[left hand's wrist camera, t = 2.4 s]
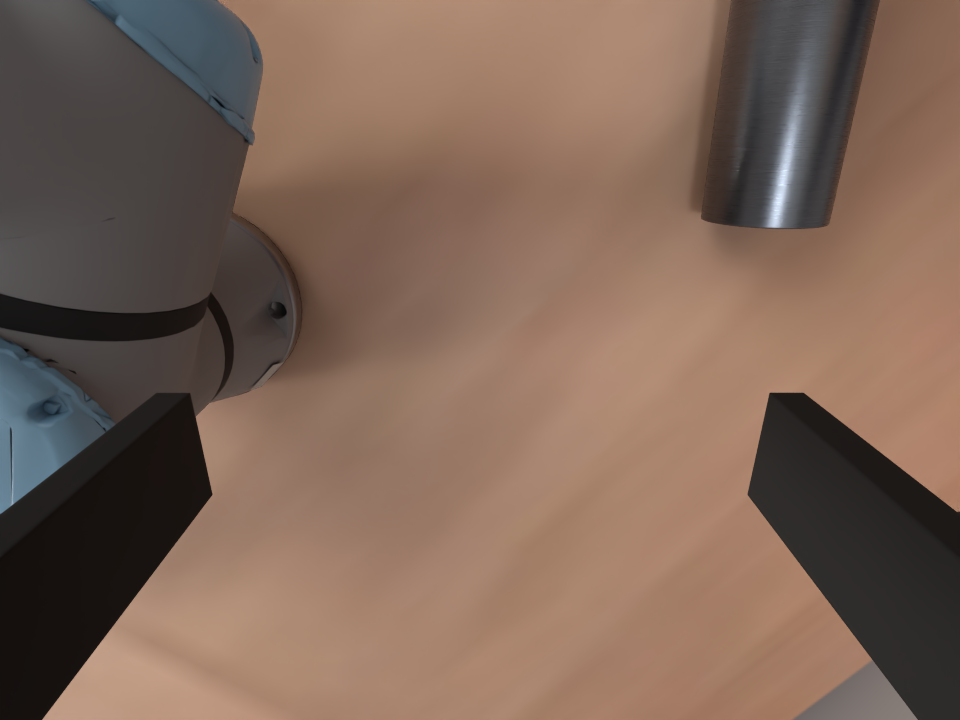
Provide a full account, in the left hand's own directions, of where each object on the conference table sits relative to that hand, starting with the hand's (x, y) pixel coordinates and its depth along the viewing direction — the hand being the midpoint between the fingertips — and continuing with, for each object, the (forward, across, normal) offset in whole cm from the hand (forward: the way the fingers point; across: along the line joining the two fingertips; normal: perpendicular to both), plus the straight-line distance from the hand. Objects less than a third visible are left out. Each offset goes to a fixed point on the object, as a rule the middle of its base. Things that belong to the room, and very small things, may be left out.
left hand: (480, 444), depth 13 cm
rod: (+31, -19, -15) cm, 39 cm away
